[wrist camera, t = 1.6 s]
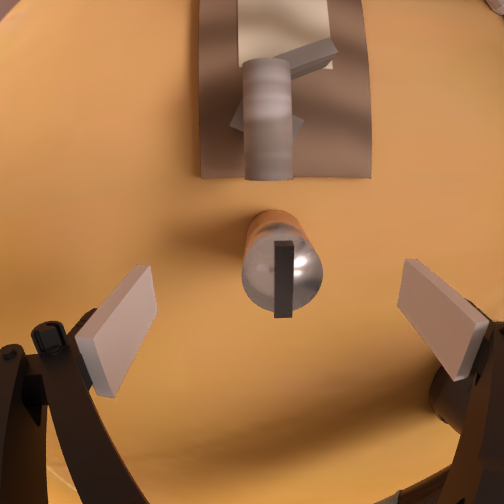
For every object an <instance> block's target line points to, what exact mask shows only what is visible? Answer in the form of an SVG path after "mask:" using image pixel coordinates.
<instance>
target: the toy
mask: <svg viewBox="0 0 504 504" xmlns="http://www.w3.org/2000/svg"><path fill="white" fill-rule="evenodd" d="M485 1H486V2H487V4H488V5H489V6H490V8H491V9H492V10H493V11H494V12H496V13H498V14H499V15H504V0H485Z"/></svg>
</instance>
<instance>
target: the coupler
mask: <svg viewBox="0 0 504 504" xmlns="http://www.w3.org/2000/svg"><path fill="white" fill-rule="evenodd" d="M322 278H323V269H322V264H321V261H320V259H319V257H318V255H317V253H316V251H315V249H314V248H313V246H312V244H311V242H310V241H309V239H308V237H307V235H306V234H305V232H304V230H303V228H302V227H301V225H300V223H299V222H298V220H297V219H296V218H295V217H294V216H293V215H291V214H290V213H287V212H285V211H282V210H269V211H265V212H263V213H261V214H259V215H258V216H257V217H255V218H254V219H253V221H252V222H251V223H250V225H249V227H248V230H247V235H246V243H245V251H244V259H243V267H242V283H243V287H244V290H245V292H246V293H247V295H248V297H249V298H250V299H251V300H252V301H253V302H254V303H255V304H257V305H258V306H260V307H261V308H263V309H266V310H269V311H273V312H274V318H292V311H293V310H296V309H299V308H301V307H303V306H304V305H306V304H307V303H308V302H310V301H311V300H312V299H313V298H314V296H315V295H316V294H317V292H318V290H319V288H320V286H321V283H322Z"/></svg>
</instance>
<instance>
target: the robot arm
mask: <svg viewBox="0 0 504 504" xmlns="http://www.w3.org/2000/svg"><path fill="white" fill-rule="evenodd" d="M397 306H398V308H399V309H400V310H401V311H402V313H403V314H404V315H405V317H406V318H407V319H408V320H409V322H410V323H411V324H412V325H413V327H414V328H415V329H416V331H417V332H418V333H419V335H420V336H421V337H422V339H423V340H424V341H425V343H426V344H427V345H428V347H429V348H430V349H431V351H432V352H433V353H434V355H435V356H436V357H437V359H438V360H439V362H440V363H441V364H442V366H441V368H440V370H439V371H438V373H437V375H436V377H435V379H434V381H433V383H432V386H431V389H430V395H429V400H430V404H431V406H432V408H433V410H434V412H435V413H436V415H437V417H438V418H439V419H440V420H441V421H443V422H444V423H447V424H449V425H450V426H451V427H452V428H453V429H454V430H455V431H457V432H458V433H459V434H460V435H461V436H460V439H459V443H458V446H457V450H456V453H455V456H454V459H453V462H452V464H451V465H449V466H447V467H446V468H444V469H442V470H440V471H439V472H437V473H435V474H433V475H431V476H430V477H428V478H426V479H424V480H422V481H420V482H418V483H416V484H414V485H412V486H410V487H408V488H406V489H404V490H398V491H397V492H396V493H395V494H394V495H392V496H390V497H387V498H385V499H383V500H381V501H379V502H377V503H374V504H504V322H496V323H494V322H493V321H492V320H491V319H490V318H489V317H487V316H486V315H485V314H484V313H483V312H482V311H481V310H480V309H479V308H477V307H476V306H475V305H474V304H473V303H472V302H471V301H469V300H467V299H465V298H463V297H462V296H461V295H460V294H459V293H457V292H456V291H455V290H454V289H453V288H452V287H450V286H449V285H448V284H447V283H446V282H444V281H443V280H442V279H441V278H440V277H438V276H437V275H436V274H435V273H434V272H432V271H431V270H430V269H429V268H427V267H426V266H425V265H424V264H422V263H421V262H420V261H419V260H417V259H405V262H404V268H403V275H402V281H401V286H400V292H399V297H398V303H397ZM157 313H158V310H157V304H156V298H155V292H154V286H153V279H152V273H151V266H150V265H136V266H135V267H134V268H133V269H132V270H131V271H130V273H129V274H128V275H127V276H126V277H125V278H124V279H123V280H122V281H121V283H120V284H119V285H118V286H117V287H116V288H115V289H114V291H113V292H112V293H111V294H110V295H109V296H108V297H107V299H106V300H105V301H104V302H103V303H102V304H101V305H100V307H99V308H94V309H92V310H90V311H89V312H87V313H85V314H84V316H83V317H82V318H81V319H80V321H78V322H77V324H76V325H75V326H74V327H73V328H72V329H71V331H70V332H69V333H68V334H67V335H66V333H65V330H64V327H63V325H62V323H61V322H58V321H48V322H44V323H42V324H39V325H38V326H36V327H35V328H34V329H33V330H32V332H31V337H32V340H33V342H34V345H35V347H36V350H37V352H38V354H32V355H26V354H25V352H24V350H23V348H22V346H21V345H18V344H11V345H6V346H4V347H2V349H0V504H48V494H47V477H46V424H47V407H48V405H49V408H50V412H51V416H52V420H53V423H54V427H55V430H56V434H57V437H58V440H59V443H60V446H61V449H62V452H63V455H64V458H65V461H66V464H67V466H68V469H69V472H70V474H71V477H72V480H73V482H74V484H75V487H76V489H77V492H78V494H79V496H80V499H81V501H82V503H83V504H149V502H148V501H147V499H146V498H145V496H144V495H143V493H142V492H141V490H140V488H139V487H138V485H137V484H136V482H135V481H134V479H133V477H132V476H131V474H130V472H129V471H128V469H127V467H126V466H125V464H124V462H123V460H122V459H121V457H120V455H119V453H118V451H117V449H116V448H115V446H114V444H113V442H112V440H111V438H110V436H109V434H108V432H107V430H106V428H105V426H104V424H103V422H102V420H101V418H100V416H99V414H98V411H97V409H96V407H95V405H94V403H93V400H92V398H91V396H90V394H89V390H90V388H91V386H92V384H93V387H94V389H95V391H96V394H97V395H98V396H104V397H110V398H115V396H116V394H117V392H118V390H119V388H120V386H121V384H122V382H123V380H124V378H125V376H126V374H127V372H128V370H129V368H130V366H131V364H132V362H133V360H134V358H135V356H136V354H137V352H138V350H139V348H140V346H141V344H142V342H143V340H144V338H145V336H146V334H147V332H148V330H149V328H150V327H151V325H152V323H153V321H154V319H155V317H156V315H157Z"/></svg>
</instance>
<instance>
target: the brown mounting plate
mask: <svg viewBox="0 0 504 504" xmlns="http://www.w3.org/2000/svg"><path fill="white" fill-rule="evenodd" d="M199 127H200V159H201V179H206V178H231V177H245V179H246V180H255V181H278V180H291V179H293V177H345V178H369V179H371V168H372V124H371V95H370V78H369V64H368V53H367V43H366V34H365V25H364V18H363V10H362V4H361V0H200V8H199Z"/></svg>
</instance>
